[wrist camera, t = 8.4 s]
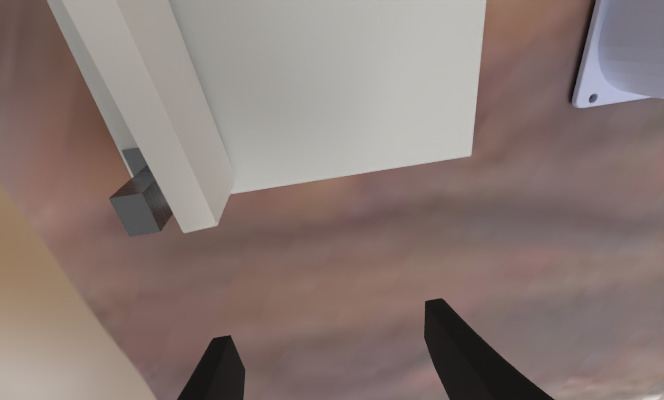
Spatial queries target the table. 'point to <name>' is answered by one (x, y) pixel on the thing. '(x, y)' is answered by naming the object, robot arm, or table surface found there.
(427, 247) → the table surface
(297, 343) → the table surface
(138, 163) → the dark grey stepped block
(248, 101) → the mat
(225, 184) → the gate
